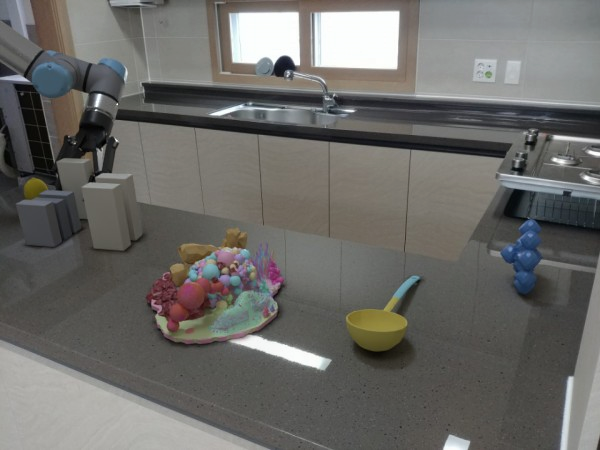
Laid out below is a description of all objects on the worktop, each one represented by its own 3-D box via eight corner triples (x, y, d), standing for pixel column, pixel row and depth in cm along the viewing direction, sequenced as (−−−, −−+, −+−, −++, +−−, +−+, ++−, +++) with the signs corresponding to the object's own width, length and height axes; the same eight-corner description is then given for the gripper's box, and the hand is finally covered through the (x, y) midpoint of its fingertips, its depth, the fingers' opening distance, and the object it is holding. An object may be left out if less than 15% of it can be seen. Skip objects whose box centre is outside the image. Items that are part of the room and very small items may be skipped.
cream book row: (113, 233, 119) (102, 172, 114) (142, 235, 118) (132, 174, 112) (93, 248, 112) (80, 185, 107) (123, 250, 111) (112, 186, 105)
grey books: (54, 226, 124) (45, 188, 120) (81, 228, 122) (73, 189, 118) (26, 244, 115) (15, 203, 111) (54, 247, 113) (44, 205, 110)
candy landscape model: (133, 285, 97) (125, 239, 93) (251, 254, 107) (248, 211, 104) (175, 359, 77) (167, 304, 73) (316, 312, 87) (315, 261, 84)
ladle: (334, 353, 76) (336, 314, 75) (391, 301, 99) (393, 271, 98) (395, 367, 72) (398, 326, 71) (439, 309, 95) (441, 278, 94)
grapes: (496, 268, 99) (504, 207, 94) (536, 272, 97) (546, 211, 92) (495, 299, 89) (503, 233, 84) (539, 305, 87) (550, 238, 82)
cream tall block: (75, 213, 131) (64, 158, 125) (101, 215, 129) (90, 159, 124) (68, 218, 128) (56, 161, 123) (94, 219, 127) (83, 162, 121)
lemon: (26, 207, 136) (19, 177, 133) (49, 202, 139) (42, 172, 135) (30, 213, 132) (22, 183, 128) (53, 208, 134) (47, 178, 131)
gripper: (142, 126, 133) (119, 211, 125) (71, 124, 137) (44, 206, 129) (128, 109, 126) (102, 197, 118) (53, 108, 130) (24, 193, 122)
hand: (72, 202), depth 124 cm, fingers closed on cream tall block, 7 cm apart
